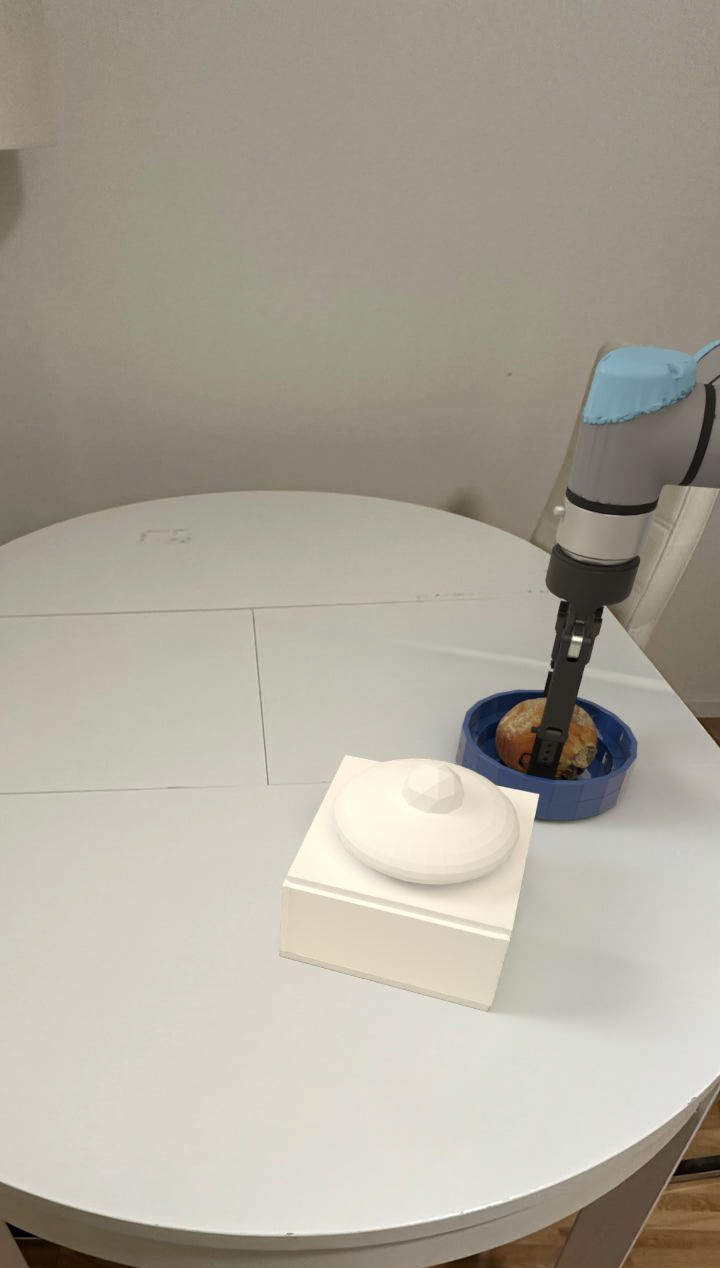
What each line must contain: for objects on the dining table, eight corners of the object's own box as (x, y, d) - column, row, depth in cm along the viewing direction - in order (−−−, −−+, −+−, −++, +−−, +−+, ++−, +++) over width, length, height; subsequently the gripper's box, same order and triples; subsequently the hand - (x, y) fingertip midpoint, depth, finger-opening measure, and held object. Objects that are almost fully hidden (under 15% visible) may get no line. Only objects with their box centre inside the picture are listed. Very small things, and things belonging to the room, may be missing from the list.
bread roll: (575, 767, 100) (584, 693, 97) (609, 786, 90) (619, 704, 88) (484, 766, 100) (490, 692, 98) (508, 784, 90) (515, 703, 88)
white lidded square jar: (279, 956, 77) (284, 808, 66) (337, 828, 90) (349, 687, 79) (489, 1012, 72) (531, 863, 62) (519, 869, 85) (557, 725, 74)
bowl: (626, 744, 100) (639, 705, 97) (620, 839, 88) (635, 798, 85) (469, 716, 105) (476, 678, 101) (443, 803, 92) (450, 763, 89)
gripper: (563, 498, 89) (518, 694, 104) (541, 596, 73) (491, 812, 88) (644, 508, 87) (587, 706, 102) (639, 610, 71) (572, 829, 86)
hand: (543, 755), depth 95 cm, fingers closed on bread roll, 10 cm apart
